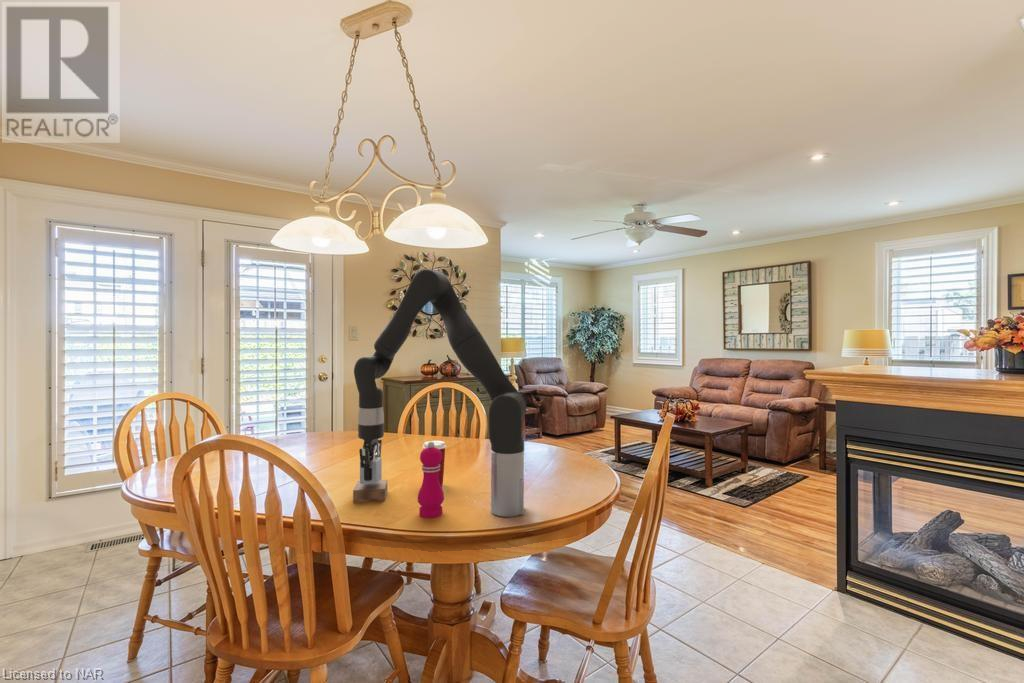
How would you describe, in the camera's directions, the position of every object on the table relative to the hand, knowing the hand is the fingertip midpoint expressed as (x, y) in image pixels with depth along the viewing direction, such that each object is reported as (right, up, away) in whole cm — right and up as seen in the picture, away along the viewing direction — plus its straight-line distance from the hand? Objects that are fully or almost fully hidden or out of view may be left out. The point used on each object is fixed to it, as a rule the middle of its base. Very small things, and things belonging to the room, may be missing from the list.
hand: (371, 477), depth 147 cm
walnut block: (0, -6, 0) cm, 6 cm away
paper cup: (+17, -6, +12) cm, 22 cm away
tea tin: (0, -1, 0) cm, 1 cm away
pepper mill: (+21, -6, -14) cm, 25 cm away
